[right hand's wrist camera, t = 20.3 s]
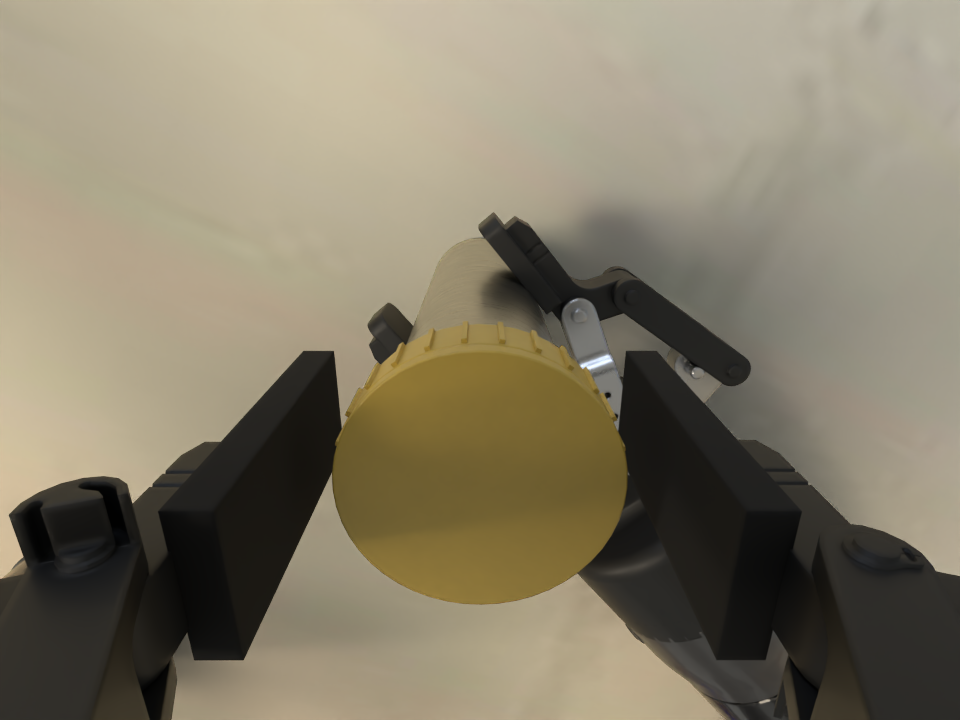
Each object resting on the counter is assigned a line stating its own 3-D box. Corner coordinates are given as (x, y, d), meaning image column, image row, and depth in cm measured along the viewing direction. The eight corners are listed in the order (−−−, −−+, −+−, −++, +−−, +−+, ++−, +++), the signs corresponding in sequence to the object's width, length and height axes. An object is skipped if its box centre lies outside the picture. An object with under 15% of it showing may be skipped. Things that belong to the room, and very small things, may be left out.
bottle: (487, 346, 28) (497, 588, 12) (415, 292, 27) (325, 481, 11) (545, 277, 26) (638, 447, 11) (471, 218, 26) (458, 313, 10)
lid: (316, 508, 12) (293, 558, 11) (398, 276, 10) (384, 297, 9) (545, 582, 13) (554, 639, 12) (659, 378, 11) (688, 413, 10)
